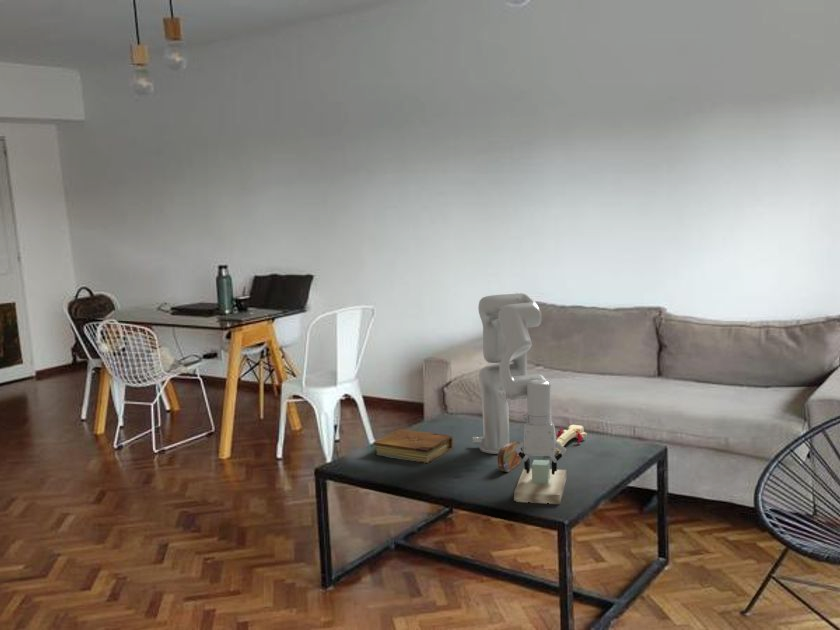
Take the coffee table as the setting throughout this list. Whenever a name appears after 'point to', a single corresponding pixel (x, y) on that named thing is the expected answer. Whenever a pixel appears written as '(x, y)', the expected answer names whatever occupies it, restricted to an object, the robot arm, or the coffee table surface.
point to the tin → (508, 457)
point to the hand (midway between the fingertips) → (540, 472)
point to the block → (541, 471)
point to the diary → (414, 445)
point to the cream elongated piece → (570, 435)
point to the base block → (540, 488)
